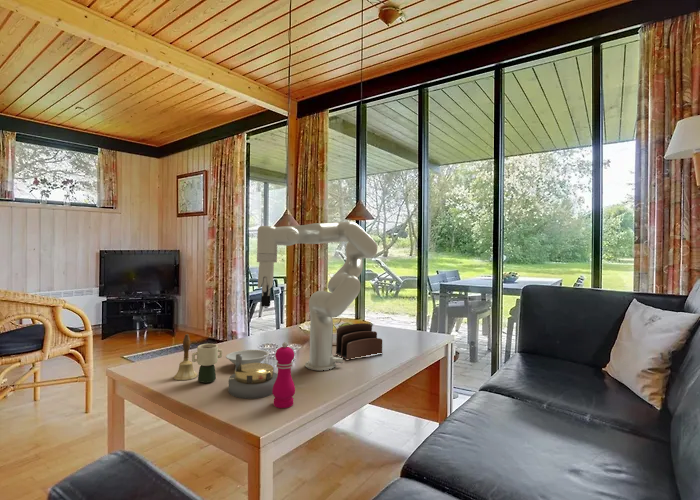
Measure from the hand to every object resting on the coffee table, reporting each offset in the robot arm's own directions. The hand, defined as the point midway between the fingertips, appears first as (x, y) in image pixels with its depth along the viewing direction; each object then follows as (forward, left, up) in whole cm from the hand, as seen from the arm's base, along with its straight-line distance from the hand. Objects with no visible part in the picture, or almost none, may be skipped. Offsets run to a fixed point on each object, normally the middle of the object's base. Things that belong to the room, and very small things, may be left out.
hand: (265, 306), depth 150 cm
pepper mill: (-9, +26, -27) cm, 39 cm away
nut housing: (+2, +13, -27) cm, 30 cm away
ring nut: (+2, +13, -23) cm, 27 cm away
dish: (+8, -12, -27) cm, 31 cm away
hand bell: (+29, 0, -27) cm, 40 cm away
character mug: (+20, +5, -27) cm, 34 cm away
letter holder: (-40, -28, -28) cm, 57 cm away
